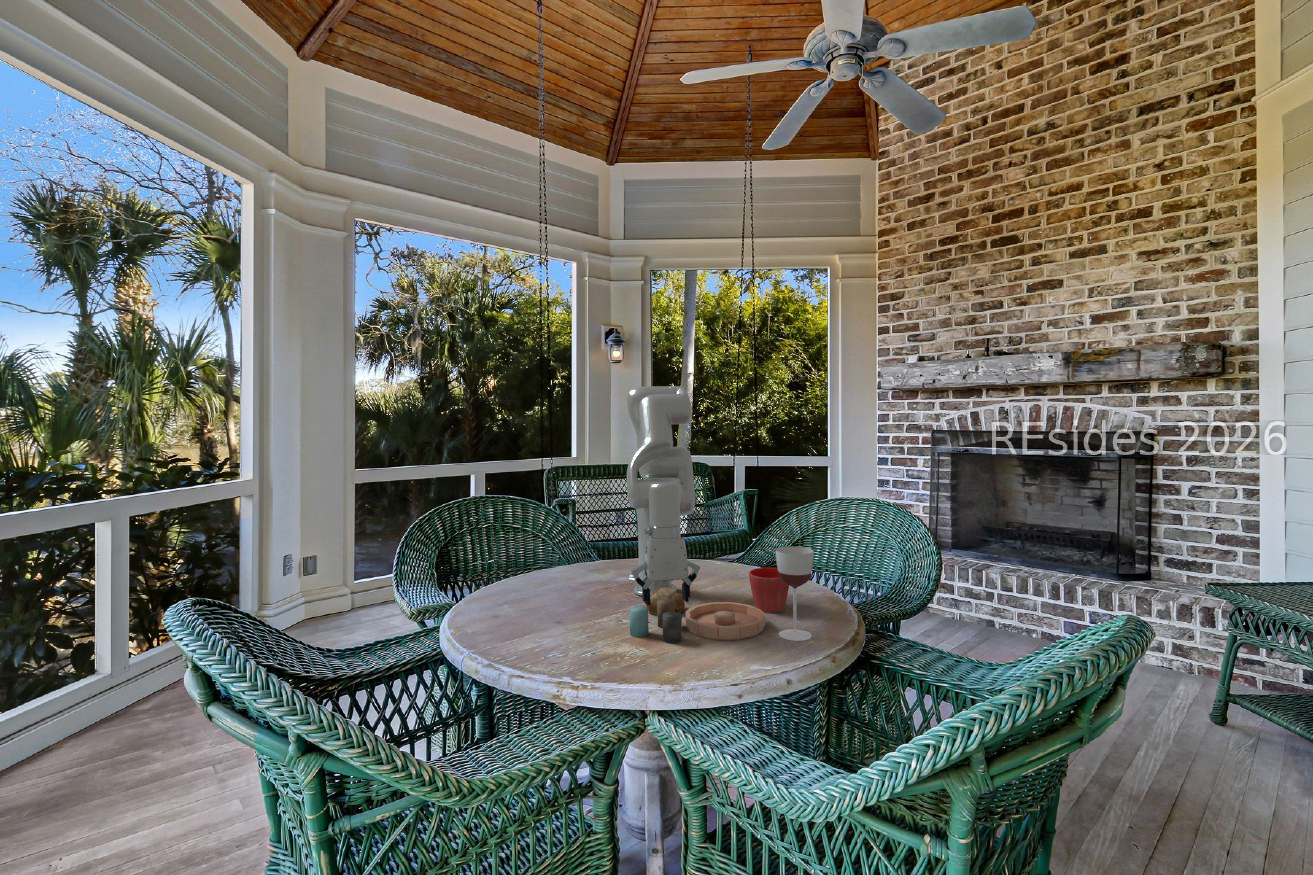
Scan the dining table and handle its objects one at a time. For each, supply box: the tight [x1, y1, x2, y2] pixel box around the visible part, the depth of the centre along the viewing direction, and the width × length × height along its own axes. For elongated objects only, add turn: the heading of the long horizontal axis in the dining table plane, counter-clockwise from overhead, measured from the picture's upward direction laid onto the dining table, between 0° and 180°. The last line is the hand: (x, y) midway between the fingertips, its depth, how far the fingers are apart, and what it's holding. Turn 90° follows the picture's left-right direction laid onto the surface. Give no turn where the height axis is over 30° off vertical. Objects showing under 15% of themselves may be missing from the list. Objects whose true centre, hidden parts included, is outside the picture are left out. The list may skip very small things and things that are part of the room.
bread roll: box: [645, 587, 686, 617], centre depth 172 cm, size 10×10×8 cm
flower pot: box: [748, 567, 790, 614], centre depth 172 cm, size 11×11×10 cm
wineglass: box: [775, 546, 814, 642], centre depth 152 cm, size 8×9×20 cm
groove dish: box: [685, 601, 766, 641], centre depth 159 cm, size 19×19×3 cm
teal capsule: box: [629, 605, 650, 638], centre depth 155 cm, size 4×4×6 cm
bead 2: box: [656, 599, 675, 629], centre depth 160 cm, size 4×4×6 cm
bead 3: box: [662, 612, 683, 644], centre depth 150 cm, size 4×4×6 cm
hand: (666, 602), depth 159 cm, fingers open, 9 cm apart
